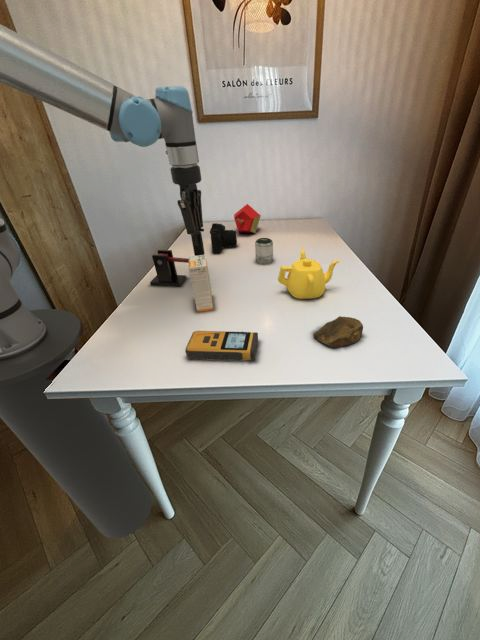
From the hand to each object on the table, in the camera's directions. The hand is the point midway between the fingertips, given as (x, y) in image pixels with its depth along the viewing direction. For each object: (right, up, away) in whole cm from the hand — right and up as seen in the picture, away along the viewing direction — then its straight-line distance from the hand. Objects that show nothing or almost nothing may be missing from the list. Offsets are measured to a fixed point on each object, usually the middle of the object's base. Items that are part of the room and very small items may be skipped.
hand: (199, 254), depth 94 cm
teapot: (+33, -11, 0) cm, 34 cm away
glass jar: (+20, +3, +18) cm, 27 cm away
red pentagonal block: (+13, +24, +45) cm, 52 cm away
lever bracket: (-12, -7, +8) cm, 15 cm away
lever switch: (-6, -2, +3) cm, 7 cm away
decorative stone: (+37, -26, -19) cm, 49 cm away
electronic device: (+10, -29, -22) cm, 38 cm away
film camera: (+4, +12, +31) cm, 33 cm away
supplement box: (+2, -16, -4) cm, 17 cm away
